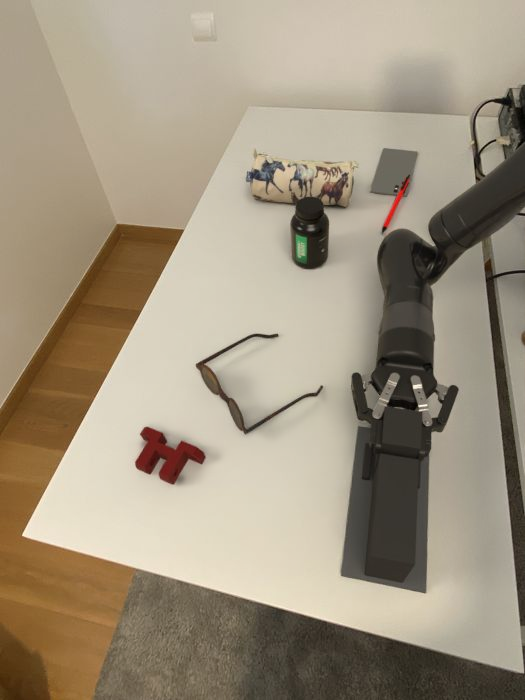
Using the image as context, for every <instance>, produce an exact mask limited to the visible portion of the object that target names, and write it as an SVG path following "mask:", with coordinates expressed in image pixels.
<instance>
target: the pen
mask: <svg viewBox="0 0 525 700" xmlns="http://www.w3.org/2000/svg"><path fill="white" fill-rule="evenodd" d="M409 177H410V175H408V177H406V178H405V181H404V183H403V185H402V187H401V189H400V191H399V193H398V195H397V196H396V198H395V199H394V202H393V204H392V206H391V209H390V210H389V213H388V215H387V217H386V218H385V220H384V223H383V226H382V228H381V235H383V234H384V233H385V232H386V231H387V229H388V228H389V225H390V223H391V221H392V219H393V217H394V214H395V212H396V210H397V208H398V206H399V204H400V202H401V199H402V198H403V197H402V195H403V193H404V191H405V188H406V186H407V184H408V182H409V180H410V178H409Z"/></svg>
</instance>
